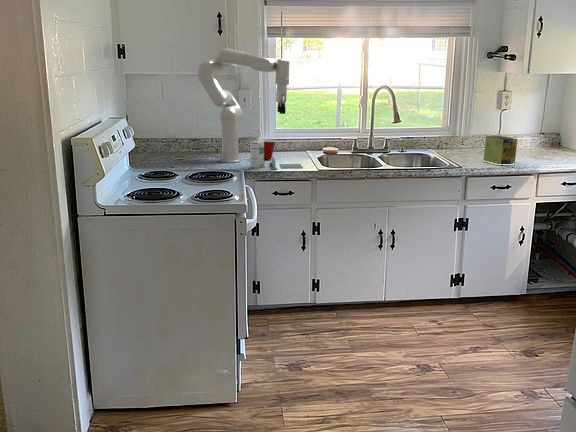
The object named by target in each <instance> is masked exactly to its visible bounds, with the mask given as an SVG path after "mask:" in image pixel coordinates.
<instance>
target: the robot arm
mask: <svg viewBox="0 0 576 432" xmlns="http://www.w3.org/2000/svg"><path fill="white" fill-rule="evenodd" d="M217 55H218V56H217V57H215V58H213V59H205V60H203V61H202V62H201V63H200V64H199V67H198V69H197V76H198V79H199V83H200V84H201V86H202V87H203V89H204V91H205V92H206V94H207V95H208V97H209V99H210V100H211V102H212V104H213V105H214V106H216V107H218V108H221V111H220V124H221V151H222V152H221V153H219V154H217V153H215V154H214V158H215V159H219V162H221V163H228V164H229V163H230V164H231V163H233V162H234V163H239V162H242V159H241V157H239V155H240V154H239V126H238V122H239V121H240V120H241V119H242V117H243V111H242V108H241V106H240V105H239V104H238V102H237V101H236V98H235V97H234V95H233V93H231V92H230V91H229V90H227V89H223V88H222V87H221V85H220V84H219V81H217V79H216V78H215V77H214V76H215V75H216V76H217V75H219V74H221V73H222V72H224V71H225V70H226V69H228V68H229V67H230V66H233V67H238V68H243V69H247V70H252V71H257V72H261V73H262V72H263V73H273V72H275V85H276V94H275V102H277V111H276V112H278V113H279V114H280V115H281V114H282V115H283V114H286V103H287V92H288V90H287V89H288V86H289V85H290V60H289V59H287V58H273V57H261V56H258V55H254V54H253V55H252V54H251V53H249V52H246V51H240V50H237V49H234V48H233V49H232V48H222V49H221V50H220V51H218V54H217Z"/></svg>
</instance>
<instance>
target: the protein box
mask: <svg viewBox="0 0 576 432" xmlns="http://www.w3.org/2000/svg"><path fill="white" fill-rule="evenodd" d="M517 146H518V138H514V137H508V136H502V135H490V136H485V142H484V150H483V151H484V153H483V160H485V161H489V162H493V163H497V164H513V163H516V154H517Z"/></svg>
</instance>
